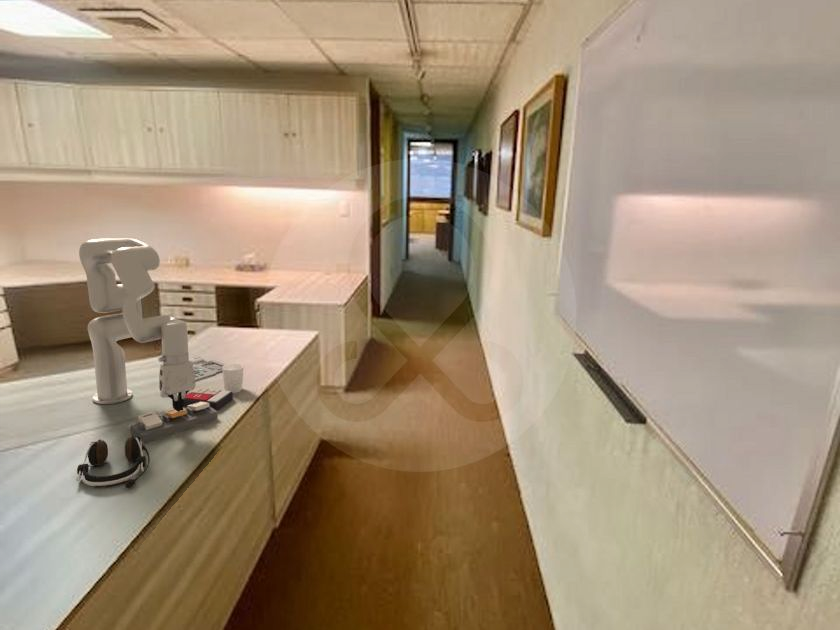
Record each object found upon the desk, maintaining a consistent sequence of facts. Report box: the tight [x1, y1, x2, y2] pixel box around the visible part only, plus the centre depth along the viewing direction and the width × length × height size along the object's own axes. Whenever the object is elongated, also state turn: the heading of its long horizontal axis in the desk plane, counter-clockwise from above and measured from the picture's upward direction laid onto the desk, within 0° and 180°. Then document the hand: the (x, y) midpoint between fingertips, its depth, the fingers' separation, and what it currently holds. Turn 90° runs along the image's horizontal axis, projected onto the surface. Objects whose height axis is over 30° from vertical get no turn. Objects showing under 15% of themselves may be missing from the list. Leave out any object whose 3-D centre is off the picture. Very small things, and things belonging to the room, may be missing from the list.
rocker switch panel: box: [129, 402, 219, 445], centre depth 161 cm, size 25×9×5 cm, turn 142°
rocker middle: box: [163, 408, 187, 418], centre depth 161 cm, size 5×6×2 cm
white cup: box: [221, 362, 244, 394], centre depth 192 cm, size 8×8×10 cm
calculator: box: [184, 387, 234, 412], centre depth 181 cm, size 11×4×15 cm
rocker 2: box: [186, 402, 210, 411], centre depth 167 cm, size 5×6×2 cm
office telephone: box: [189, 356, 226, 382], centre depth 212 cm, size 23×3×20 cm
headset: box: [75, 435, 151, 489], centre depth 133 cm, size 17×8×20 cm
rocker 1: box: [138, 411, 162, 430], centre depth 155 cm, size 5×6×2 cm
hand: (178, 409), depth 159 cm, fingers closed
